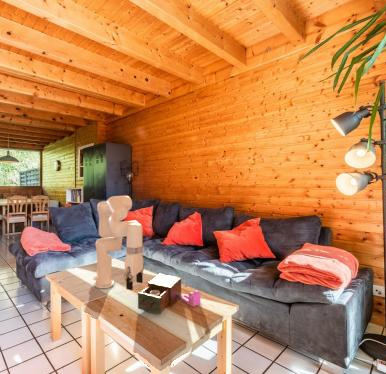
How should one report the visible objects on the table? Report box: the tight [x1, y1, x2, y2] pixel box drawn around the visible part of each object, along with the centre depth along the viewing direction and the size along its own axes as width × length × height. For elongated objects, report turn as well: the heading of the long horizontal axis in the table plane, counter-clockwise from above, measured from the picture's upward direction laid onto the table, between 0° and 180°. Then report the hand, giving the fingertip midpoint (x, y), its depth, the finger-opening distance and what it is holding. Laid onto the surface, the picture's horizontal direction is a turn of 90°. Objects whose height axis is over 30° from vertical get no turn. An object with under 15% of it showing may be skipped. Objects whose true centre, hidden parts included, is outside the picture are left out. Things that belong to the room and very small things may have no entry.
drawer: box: [137, 285, 170, 316], centre depth 139 cm, size 19×13×9 cm
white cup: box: [150, 290, 160, 297], centre depth 141 cm, size 6×6×6 cm
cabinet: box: [147, 273, 182, 307], centre depth 152 cm, size 16×15×11 cm
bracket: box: [179, 290, 201, 307], centre depth 149 cm, size 13×6×7 cm, turn 34°
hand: (134, 285), depth 122 cm, fingers open, 8 cm apart
